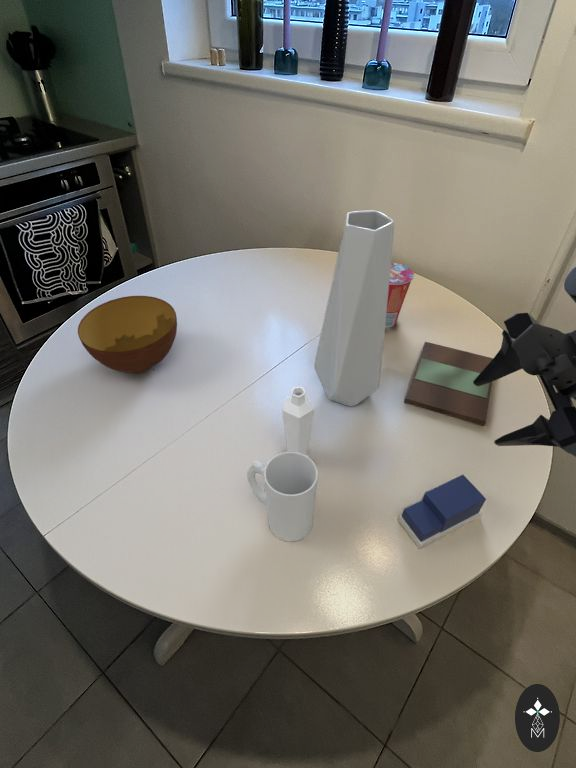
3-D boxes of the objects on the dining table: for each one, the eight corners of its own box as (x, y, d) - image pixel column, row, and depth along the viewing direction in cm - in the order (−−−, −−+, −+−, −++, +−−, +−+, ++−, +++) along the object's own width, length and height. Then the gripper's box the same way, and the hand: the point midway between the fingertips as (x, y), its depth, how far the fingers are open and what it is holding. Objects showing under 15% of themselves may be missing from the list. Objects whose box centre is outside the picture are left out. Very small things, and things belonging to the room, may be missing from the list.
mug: (322, 513, 66) (326, 463, 58) (301, 552, 62) (303, 504, 53) (262, 485, 69) (259, 435, 61) (239, 520, 65) (231, 471, 57)
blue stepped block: (456, 490, 69) (465, 471, 65) (480, 516, 65) (490, 498, 62) (397, 519, 65) (403, 501, 62) (419, 549, 62) (426, 531, 59)
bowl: (81, 394, 84) (63, 352, 77) (107, 336, 97) (94, 295, 90) (176, 392, 84) (166, 351, 77) (190, 335, 97) (182, 295, 90)
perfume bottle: (316, 453, 74) (321, 387, 64) (302, 472, 71) (305, 406, 61) (292, 441, 76) (293, 375, 65) (278, 459, 73) (276, 394, 63)
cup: (380, 305, 105) (387, 258, 97) (411, 320, 101) (422, 272, 92) (355, 322, 100) (360, 274, 92) (386, 339, 96) (395, 290, 88)
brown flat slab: (494, 363, 90) (496, 358, 89) (484, 426, 78) (486, 421, 77) (423, 345, 94) (425, 340, 93) (403, 402, 82) (405, 397, 81)
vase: (394, 401, 82) (434, 227, 60) (340, 423, 79) (360, 246, 56) (357, 362, 90) (380, 195, 68) (306, 380, 86) (312, 210, 64)
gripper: (547, 256, 51) (431, 333, 60) (628, 391, 39) (470, 459, 49) (589, 303, 56) (477, 366, 66) (670, 431, 45) (521, 485, 54)
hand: (485, 412), depth 58 cm, fingers open, 9 cm apart
